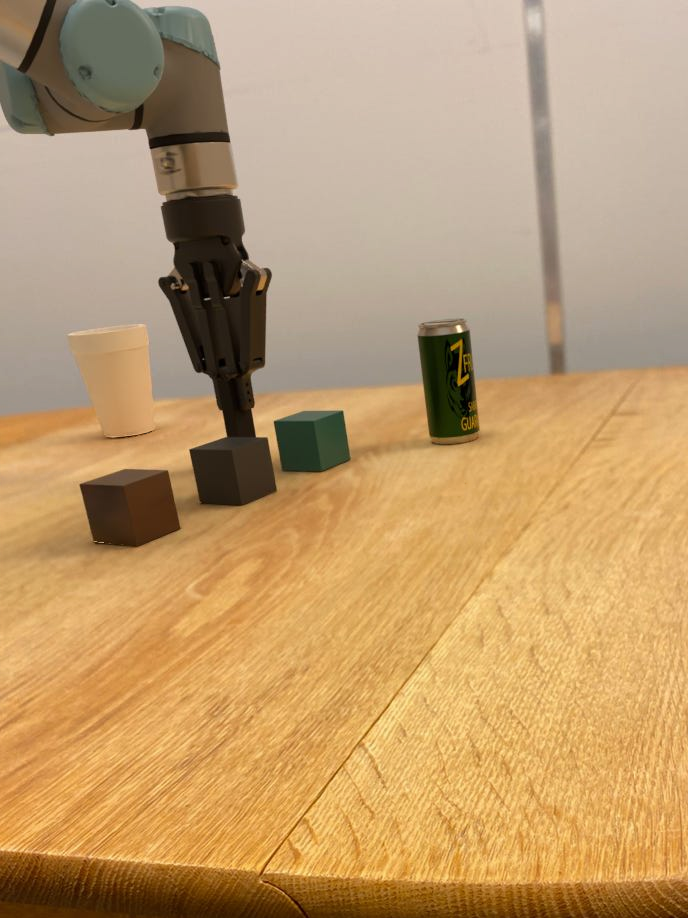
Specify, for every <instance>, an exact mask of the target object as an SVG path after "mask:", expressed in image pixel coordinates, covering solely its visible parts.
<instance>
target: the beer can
mask: <svg viewBox="0 0 688 918" xmlns="http://www.w3.org/2000/svg"><path fill="white" fill-rule="evenodd" d="M417 324H418V325H417V326H418V331H417V334H416V336H417V343H418V352H419V361H420V369H421V377H422V387H423V394H424V395H423V396H424V403H425V412H426V420H427V429H428V435H429V437H430V440H431V441H432V443H434V444H436V445H457V444H464V443H469V442H472V441H474V440H476V439H478V437H479V434H480V430H481V427H480V421H479V420H480V418H479V408H478V398H477V389H476V381H475V379H476V378H475V367H474V360H473V359H474V358H473V349H472V341H471V339H472V338H471V330H470V327H469V326H468V324H467V318H446V319H445V318H444V319H436V320H429V321H425V322H420V323H417Z"/></svg>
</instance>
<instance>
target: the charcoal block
mask: <svg viewBox="0 0 688 918" xmlns="http://www.w3.org/2000/svg"><path fill="white" fill-rule="evenodd" d="M270 448H271V447H270V444H269V437H268V436H267V437H266V436H256V437H227V436H224V437H221V438H218V439H216V440H213V441H210V442H206V443H204V444H201V445H198V446H195V447H192V448H189V449H188V451H189V455H190V460H191V466H192V470H193V476H194V480H195V484H196V490H197V495H198V500H199V503H200V502H201V503H200V504H204V503H214V504H213V505H224V504H227V505H226V506H245V505H247V504H250V503H251V502H254V501H256V500H258V499H260V498H261V499H262V498H263V497H265V496H268V495H270V494H272V493H275V492H277V491H278V488H277V483H276V477H275V471H274V466H273V460H272V455H271V454H272V453H271V449H270Z"/></svg>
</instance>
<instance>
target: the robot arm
mask: <svg viewBox="0 0 688 918" xmlns="http://www.w3.org/2000/svg"><path fill="white" fill-rule="evenodd" d="M216 48H217V47H216V43H215V38H214V35H213V32H212V27H211V23H210V21H209V18H208V17H207V16H206V15H205V13H203V12H202V11H201V10H198V9H196V8H193V7H189V6H180V5H179V6H178V5H164V6H157V7H155V6H151V7H144V8H142V7H140V6H139V5H138V4H136V3H135V2H134V1H132V0H0V107H1V111H2V113H3V116H4V118H5V120H6V122H7V123H8V126H9V127H10V128H11V129H12V130H13V131H14V132H16V133H18V134H21V135H46V136H49V137H54V136H55V135H61V134H76V133H77V134H79V133H94V132H110V131H123V130H125V131H126V130H128V131H138V130H145V133H146V136H147V140H148V141H147V142H148V148H149V151H150V156H151V161H152V165H153V172H154V177H155V181H156V187H157V192H158V194H159V195H161V196H165V200H166V201H163V202H162V203H161V206H160V210H161V215H162V216H161V217H162V221H163V227H164V233H165V237H166V239H167V241H168V242H169V243H172V245H173V248H174V249H173V250H174V254H173V260H172V261H173V263H172V264H173V266H174V267H173V268H172V270H170V273H169V274H168V275H166V276H160V277H159V278H158V280H157V283H158V286H159V289H160V290H161V291H162V292H163V294H164V296H165V297H166V298H167V300H168V302H169V305H170V307H171V309H172V312H173V316H174V318H175V321H176V324H177V326H178V329H179V332H180V334H181V337H182V340H183V342H184V343H183V344H184V346H185V349H186V351H187V354H188V356H189V359H190V362H191V365H192V368H193V370H194V372H195V373H197V374H204V375H207V376H208V377H209V378H210V379H211V381H212V385H213V390H214V395H215V399H216V400H215V401H216V406H217V408H218V411H222V417H223V422H224V423H223V424H224V429H225V435H226V437H257V433H256V427H255V422H254V415H253V410H252V409H254V408H255V404H256V402H255V397H254V395H255V394H254V389H253V383H252V374H253V373H255V372H256V371H258V370H260V369H263V368H265V366H266V342H267V341H266V339H267V294H268V290H269V288H270V284H271V281H272V278H273V272H272V270H271V269H270V268H268V267H262V268H261V267H259V266H258V265H256V264H255V263H253V262H252V261H251V260H250V256H249V252H248V250H247V249H246V247H245V245H244V242H243V236H244V235H245V233H246V226H245V221H244V220H245V219H244V213H243V207H242V202H241V201H242V200H241V198H239V196H238V195H234V190H237V188H238V187H239V182H238V176H237V175H238V174H237V170H236V169H237V168H236V164H235V158H234V153H233V145H232V143H231V138H230V133H229V126H228V119H227V118H228V117H227V112H226V105H225V97H224V91H223V83H222V76H221V69H222V68H221V63H220V61H219V57H218V52H217V49H216Z"/></svg>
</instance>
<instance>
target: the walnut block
mask: <svg viewBox="0 0 688 918" xmlns="http://www.w3.org/2000/svg"><path fill="white" fill-rule="evenodd" d="M78 485H79V488H80V492H81V497H82V500H83V505H84V509H85V511H86V516H87V517H86V518H87V521H88V525H89V529H90V532H91V537H92V540H93V542H94V541H97V542H104V543H111V544H110V545H113V544H123V545H122V546H126V545H130V546H129V547H139V546H142V545H144V544H147V543H149V542H151V541H154V540H156V539H158V537H159V538H162V537H164V536H166V535H168V534H171V533H173V532H176V531H178V530H180V529H181V524H180V519H179V518H180V517H179V514H178V509H177V503H176V501H175V500H176V499H175V495H174V491H173V487H172V482H171V477H170V471H169V470H168V469H146V468H145V469H141V468H123V469H120V470H117V471H115V472H111V473H108V474H105V475H101V476H99V477H97V478H94V479H90V480H87V481H84V482H82V483H79V484H78ZM170 532H171V533H170ZM153 539H154V540H153ZM146 542H147V543H146ZM131 545H132V546H131Z"/></svg>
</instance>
